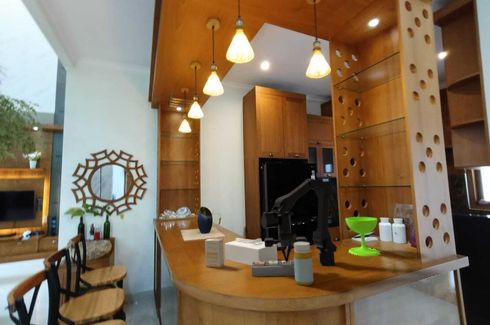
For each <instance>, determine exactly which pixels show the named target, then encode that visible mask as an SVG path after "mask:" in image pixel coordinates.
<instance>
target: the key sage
mask: <svg viewBox="0 0 490 325" xmlns="http://www.w3.org/2000/svg"><path fill="white" fill-rule="evenodd" d="M278 261H279V260H277V261H269V266H278Z"/></svg>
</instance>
